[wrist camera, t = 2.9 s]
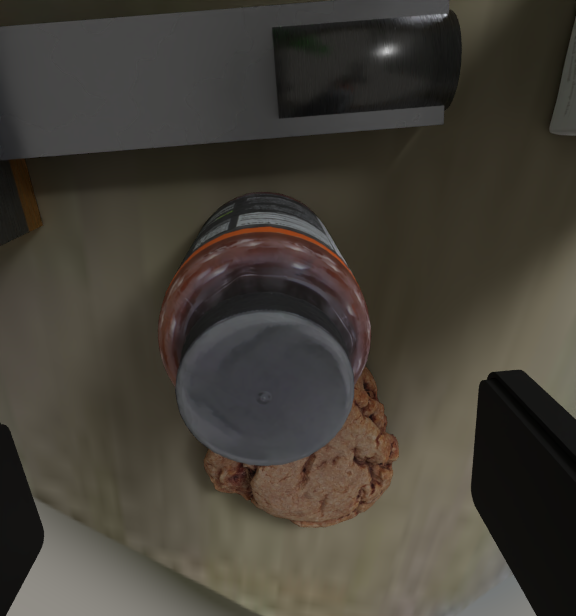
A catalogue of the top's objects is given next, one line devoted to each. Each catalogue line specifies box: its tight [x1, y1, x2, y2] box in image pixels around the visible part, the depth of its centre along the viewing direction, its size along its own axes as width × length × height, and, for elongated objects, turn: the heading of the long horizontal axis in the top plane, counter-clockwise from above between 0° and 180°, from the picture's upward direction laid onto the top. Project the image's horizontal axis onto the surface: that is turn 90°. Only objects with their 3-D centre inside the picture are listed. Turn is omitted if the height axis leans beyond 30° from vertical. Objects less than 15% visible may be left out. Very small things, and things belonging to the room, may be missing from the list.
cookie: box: [204, 366, 399, 528], centre depth 23 cm, size 10×11×3 cm
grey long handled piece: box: [0, 0, 462, 246], centre depth 16 cm, size 26×10×5 cm, turn 94°
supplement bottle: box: [158, 192, 371, 466], centre depth 15 cm, size 6×6×11 cm
